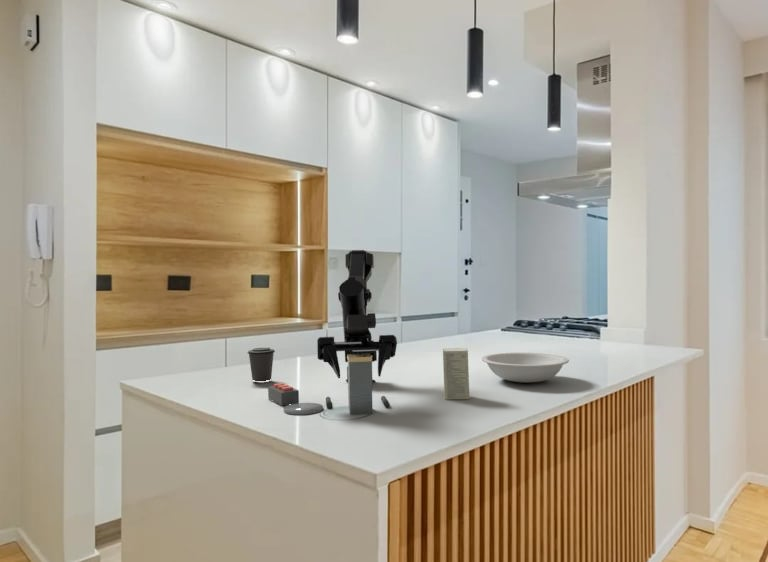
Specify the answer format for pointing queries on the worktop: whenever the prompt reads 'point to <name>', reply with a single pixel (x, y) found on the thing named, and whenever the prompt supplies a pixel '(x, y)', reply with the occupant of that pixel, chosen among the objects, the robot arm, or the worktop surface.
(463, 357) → the skincare box
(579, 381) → the worktop surface
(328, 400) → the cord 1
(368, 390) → the charcoal tea tin
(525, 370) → the soup bowl
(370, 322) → the robot arm
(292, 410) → the gray disc
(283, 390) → the gray power strip
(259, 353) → the coffee cup
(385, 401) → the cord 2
